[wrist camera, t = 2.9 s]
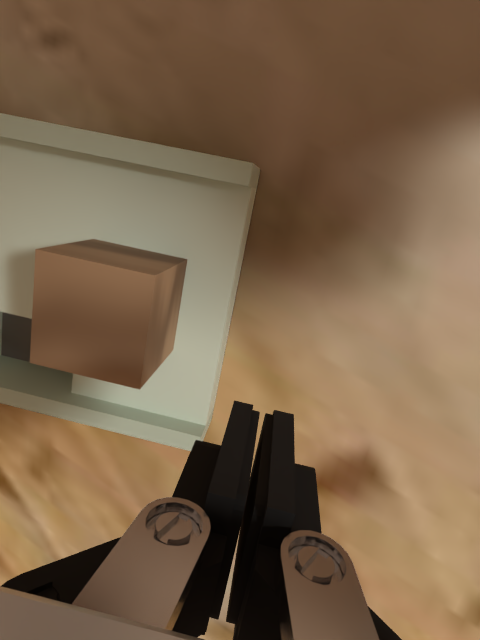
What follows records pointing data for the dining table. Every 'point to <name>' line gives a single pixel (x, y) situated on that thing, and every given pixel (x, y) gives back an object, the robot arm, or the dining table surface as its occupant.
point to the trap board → (129, 230)
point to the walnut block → (105, 310)
